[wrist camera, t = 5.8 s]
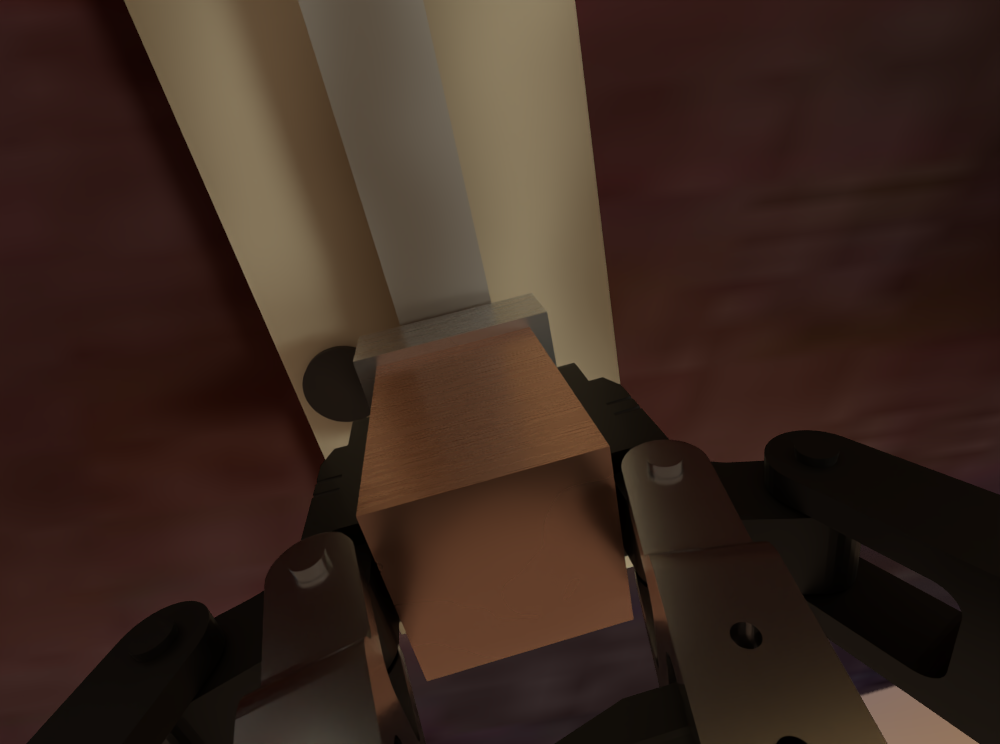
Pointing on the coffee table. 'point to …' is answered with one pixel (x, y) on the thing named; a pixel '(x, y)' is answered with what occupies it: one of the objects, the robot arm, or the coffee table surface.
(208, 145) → the bolt-hole plate
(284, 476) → the coffee table surface
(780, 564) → the robot arm
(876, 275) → the coffee table surface
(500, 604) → the block
